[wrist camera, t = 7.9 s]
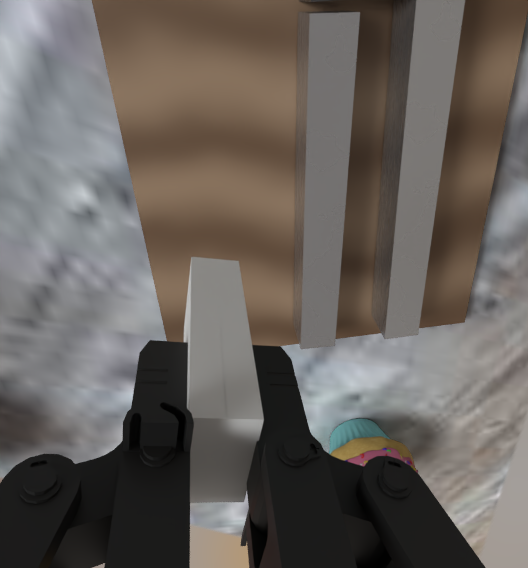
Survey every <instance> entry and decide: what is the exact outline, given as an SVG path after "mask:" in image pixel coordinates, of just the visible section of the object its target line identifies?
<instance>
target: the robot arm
mask: <svg viewBox="0 0 528 568" xmlns="http://www.w3.org/2000/svg"><path fill="white" fill-rule="evenodd" d="M246 491H247V494H248V503H249V510H248V514H247V518H246V522H245V525H244V529H243V533H242V539H241V546H246V542H247V546H248V556H249V568H485V566H484V565H483V564H482V563H481V561H480V559H479V558H478V557H477V555H476V554H475V552H474V551H473V550H472V548H471V547H470V545H469V544H468V543H467V541H466V540H465V538H464V537H463V536H462V534H461V533H460V531H459V530H458V529H457V527H456V526H455V524H454V523H453V522H452V520H451V519H450V517H449V516H448V515H447V513H446V512H445V510H444V509H443V508H442V506H441V505H440V503H439V502H438V501H437V499H436V498H435V496H434V495H433V494H432V492H431V491H430V489H429V488H428V487H427V485H426V484H425V482H424V481H423V480H422V478H421V477H420V475H419V474H418V473H417V472H416V471H415V470H414V469H413V468H412V467H411V466H410V465H408V464H406V463H405V462H403V461H402V460H400V459H397V458H394V457H391V456H376V457H374V458H372V459H370V460H368V462H367V463H366V465H365V466H361V465H357V464H354V463H351V462H347V461H344V460H341V459H339V458H336V457H334V456H332V455H330V454H328V453H327V452H325V451H324V450H323V448H322V446H321V444H320V443H319V442H318V441H317V440H316V439H315V438H314V437H313V436H312V435H311V433H310V430H309V427H308V423H307V419H306V415H305V411H304V407H303V403H302V400H301V396H300V392H299V388H298V384H297V380H296V377H295V373H294V369H293V365H292V361H291V359H290V357H289V356H288V355H287V354H286V353H285V351H284V350H283V349H282V348H281V346H263V345H252V342H251V335H250V329H249V323H248V317H247V310H246V304H245V298H244V292H243V285H242V279H241V273H240V267H239V261H233V260H222V259H211V258H200V257H191V265H190V275H189V284H188V294H187V303H186V313H185V323H184V342H170V341H152V340H150V341H149V342H148V343H147V345H146V346H145V347H144V348H143V350H142V351H141V352H140V355H139V361H138V368H137V375H136V382H135V388H134V394H133V401H132V407H131V409H130V410H129V411H128V412H127V414H126V417H125V419H124V421H123V441H122V442H121V444H119V445H118V446H117V447H116V448H115V449H114V450H113V451H111V452H109V453H108V454H106V455H104V456H101V457H99V458H96V459H93V460H89V461H86V462H82V463H78V464H74V463H73V461H72V460H71V459H69V458H66V457H64V456H61V455H59V454H42V455H38V456H34V457H30V458H28V459H26V460H25V461H23V462H21V463H19V464H18V465H16V466H15V467H14V468H13V469H12V470H11V471H10V472H9V473H8V474H7V475H6V476H5V477H4V479H3V480H2V482H1V483H0V568H92V567H95V566H98V565H100V564H103V563H105V567H104V568H189V556H190V555H189V554H190V553H189V552H190V503H192V502H244V499H245V495H246Z"/></svg>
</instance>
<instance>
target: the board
mask: <svg viewBox="0 0 528 568" xmlns="http://www.w3.org/2000/svg"><path fill="white" fill-rule="evenodd" d="M92 3H93V8H94V12H95V17H96V21H97V26H98V30H99V35H100V39H101V44H102V49H103V53H104V58H105V62H106V67H107V71H108V76H109V80H110V85H111V89H112V94H113V98H114V103H115V107H116V112H117V116H118V121H119V125H120V130H121V135H122V139H123V144H124V148H125V153H126V157H127V162H128V166H129V171H130V175H131V180H132V184H133V189H134V193H135V198H136V202H137V207H138V212H139V216H140V221H141V225H142V230H143V234H144V239H145V243H146V248H147V252H148V257H149V261H150V266H151V270H152V275H153V279H154V284H155V288H156V293H157V298H158V302H159V307H160V311H161V316H162V320H163V325H164V329H165V334H166V338H167V341H170V342H184V323H185V313H186V303H187V294H188V284H189V275H190V265H191V257H200V258H211V259H222V260H233V261H239V267H240V273H241V279H242V285H243V292H244V298H245V304H246V310H247V317H248V323H249V329H250V335H251V342H252V345H263V346H284V345H292V344H299V341H298V338H297V335H296V331H295V328H294V324H293V302H294V236H295V171H296V105H297V39H298V12H307V11H354V12H360V21H359V34H358V47H357V61H356V74H355V87H354V100H353V113H352V127H351V140H350V153H349V166H348V179H347V193H346V206H345V219H344V232H343V245H342V259H341V272H340V285H339V298H338V311H337V325H336V338H335V339H339V338H346V337H354V336H362V335H370V334H378V333H381V331H380V330H379V328H378V326H377V324H376V322H375V321H374V319H373V317H372V315H371V310H372V296H373V282H374V268H375V254H376V240H377V226H378V212H379V198H380V184H381V170H382V156H383V142H384V128H385V114H386V100H387V86H388V72H389V58H390V44H391V30H392V16H393V3H394V0H332V1H319V2H299V0H92ZM527 14H528V0H465V5H464V12H463V19H462V26H461V33H460V40H459V47H458V54H457V61H456V69H455V76H454V83H453V90H452V97H451V104H450V111H449V118H448V125H447V132H446V140H445V147H444V154H443V161H442V168H441V175H440V182H439V189H438V196H437V203H436V210H435V218H434V225H433V232H432V239H431V246H430V253H429V260H428V267H427V274H426V281H425V289H424V296H423V303H422V310H421V317H420V324H419V328H424V327H432V326H440V325H448V324H456V323H463V322H465V318H466V313H467V308H468V303H469V298H470V293H471V288H472V283H473V279H474V274H475V269H476V264H477V259H478V254H479V249H480V244H481V239H482V234H483V230H484V225H485V220H486V215H487V210H488V205H489V200H490V195H491V190H492V185H493V181H494V176H495V171H496V166H497V161H498V156H499V151H500V146H501V141H502V136H503V132H504V127H505V122H506V117H507V112H508V107H509V102H510V97H511V92H512V87H513V82H514V78H515V73H516V68H517V63H518V58H519V53H520V48H521V43H522V38H523V33H524V29H525V24H526V19H527Z"/></svg>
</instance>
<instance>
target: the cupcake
mask: <svg viewBox="0 0 528 568" xmlns="http://www.w3.org/2000/svg"><path fill="white" fill-rule="evenodd" d="M329 454H330V455H332V456H334V457H336V458H339V459H341V460H344V461H347V462H351V463H354V464H357V465H361V466H365V465H366V463H367V462H368V460H370V459H372V458H374V457H376V456H391V457H394V458H397V459H400V460H402V461H403V462H405V463H406V464H408V465H410V466H411V467H412V468H413V469H414V470H415V471H416V472H417V473H418V470H416V468H415V465H414V461H413V458H412V455H411V453H410V452H409V450H408V449H407V447H406V446H405V445H404V444H402V443H400V442H398V441H395V440H391V439H390V438H389V437H388V436H387V435H386V434H385V433H384V432H383V431H382V430H381V429H380V428H379V427H378V425H377V424H376V423H374V422H373V421H371V420H368V419H352V420H349V421H346V422H344V423H342V424H341V425H339V426H338V427H337V428H336V429H335V430H334V431H333V432H332V434H331V437H330V451H329Z"/></svg>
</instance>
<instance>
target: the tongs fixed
mask: <svg viewBox="0 0 528 568" xmlns="http://www.w3.org/2000/svg"><path fill="white" fill-rule="evenodd" d="M319 1H332V0H299V2H319ZM464 5H465V0H394V3H393V16H392V30H391V44H390V58H389V72H388V86H387V100H386V114H385V128H384V142H383V156H382V170H381V184H380V198H379V212H378V226H377V240H376V254H375V268H374V282H373V296H372V310H371V315H372V317H373V319H374V321H375V322H376V324H377V326H378V328H379V330H380V331H381V333H382V335H383V337H384V339H389V338H397V337H405V336H413V335H418V331H419V324H420V317H421V310H422V303H423V296H424V289H425V281H426V274H427V267H428V260H429V253H430V246H431V239H432V232H433V225H434V218H435V210H436V203H437V196H438V189H439V182H440V175H441V168H442V161H443V154H444V147H445V140H446V132H447V125H448V118H449V111H450V104H451V97H452V90H453V83H454V76H455V69H456V61H457V54H458V47H459V40H460V33H461V26H462V19H463V12H464Z"/></svg>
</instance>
